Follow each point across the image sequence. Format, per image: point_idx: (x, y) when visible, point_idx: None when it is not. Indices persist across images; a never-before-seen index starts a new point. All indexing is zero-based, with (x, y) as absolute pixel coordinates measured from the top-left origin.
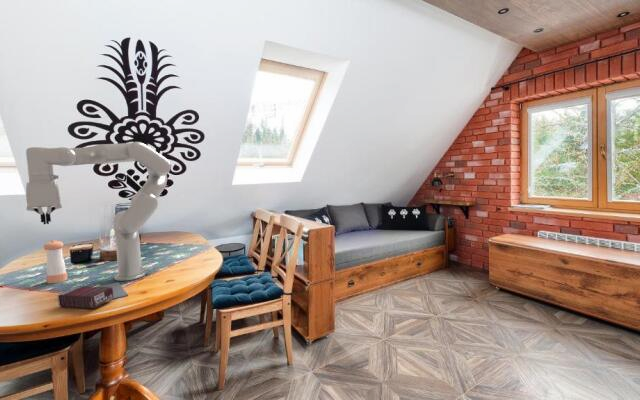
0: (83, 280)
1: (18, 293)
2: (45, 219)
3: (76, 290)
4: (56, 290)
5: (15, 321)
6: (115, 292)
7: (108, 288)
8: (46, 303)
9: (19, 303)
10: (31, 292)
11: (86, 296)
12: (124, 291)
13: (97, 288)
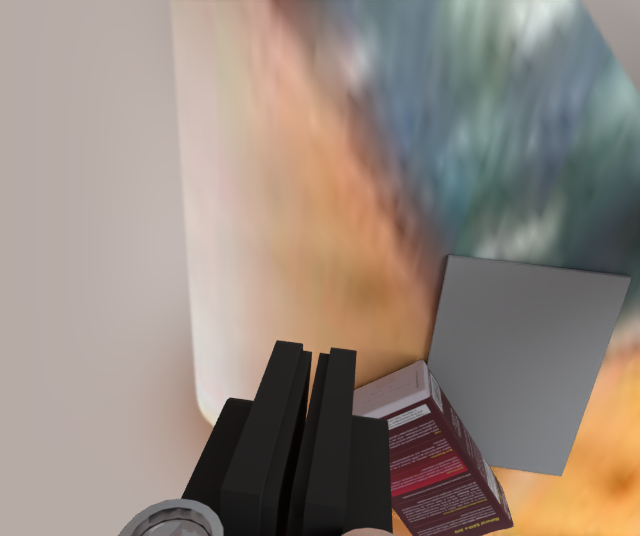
0: (534, 43)
1: (223, 15)
2: (286, 533)
3: (403, 443)
4: (376, 136)
5: (220, 405)
6: (543, 416)
7: (498, 524)
8: (314, 305)
9: (229, 211)
10: (276, 58)
11: (411, 531)
12: (573, 434)
13: (470, 490)
